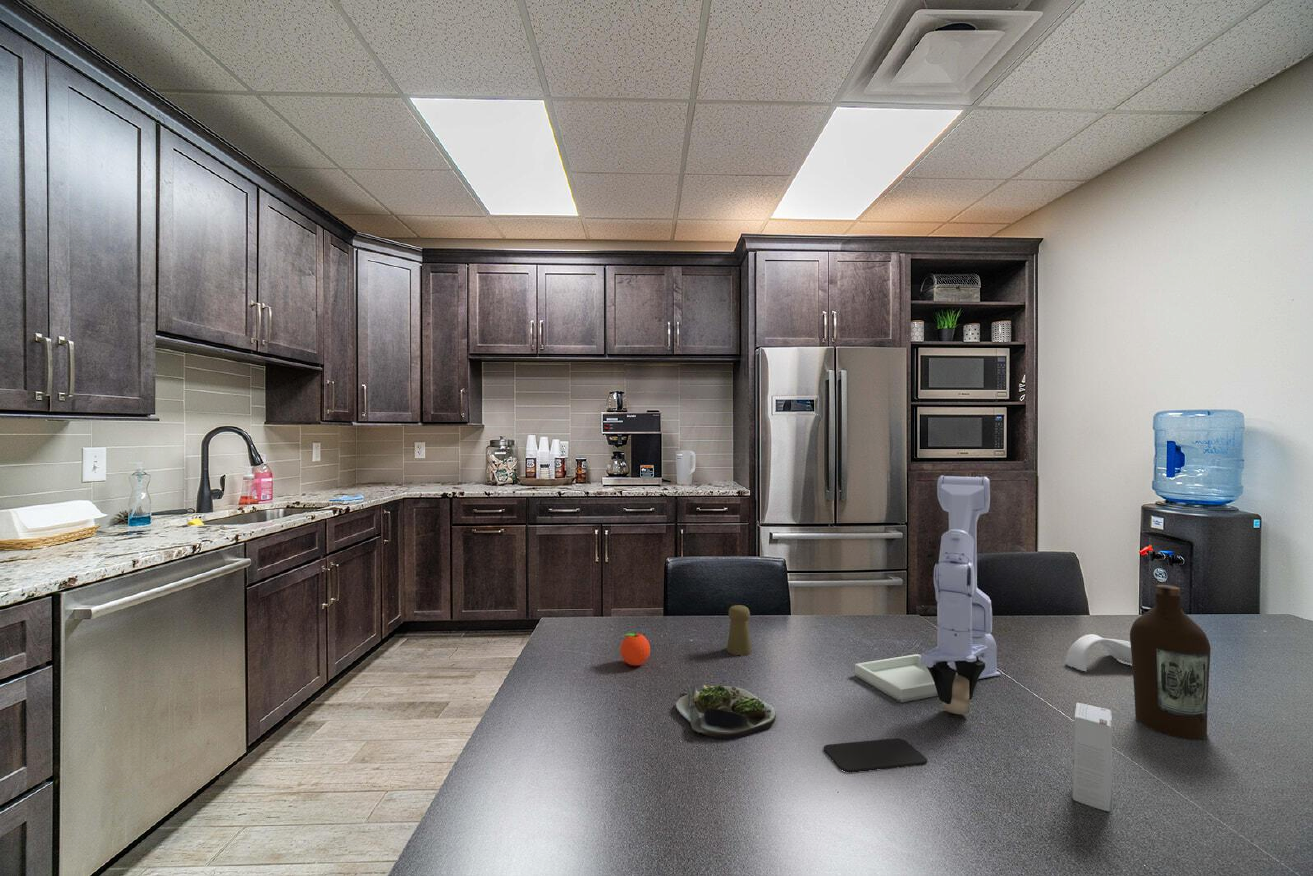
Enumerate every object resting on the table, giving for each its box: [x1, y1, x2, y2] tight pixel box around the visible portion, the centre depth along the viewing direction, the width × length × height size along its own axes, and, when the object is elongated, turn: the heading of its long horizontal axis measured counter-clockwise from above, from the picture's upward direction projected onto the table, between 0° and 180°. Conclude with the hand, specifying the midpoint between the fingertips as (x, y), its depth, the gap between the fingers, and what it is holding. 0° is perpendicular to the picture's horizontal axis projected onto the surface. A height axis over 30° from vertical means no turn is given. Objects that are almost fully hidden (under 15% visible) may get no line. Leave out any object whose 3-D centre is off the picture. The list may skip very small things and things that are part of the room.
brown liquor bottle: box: [1129, 584, 1211, 740], centre depth 99 cm, size 11×11×25 cm
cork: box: [726, 604, 753, 656], centre depth 134 cm, size 6×6×11 cm
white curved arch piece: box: [1064, 633, 1132, 672], centre depth 126 cm, size 24×12×7 cm, turn 104°
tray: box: [854, 653, 957, 703], centre depth 117 cm, size 18×14×2 cm
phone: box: [823, 737, 928, 774], centre depth 89 cm, size 7×1×15 cm
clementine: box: [619, 632, 651, 667], centre depth 126 cm, size 8×7×7 cm
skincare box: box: [1071, 702, 1113, 812], centre depth 78 cm, size 6×4×12 cm
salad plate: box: [675, 684, 777, 740], centre depth 104 cm, size 19×18×5 cm
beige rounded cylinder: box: [940, 675, 970, 715], centre depth 103 cm, size 5×5×6 cm
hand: (955, 699), depth 103 cm, fingers closed on beige rounded cylinder, 5 cm apart
